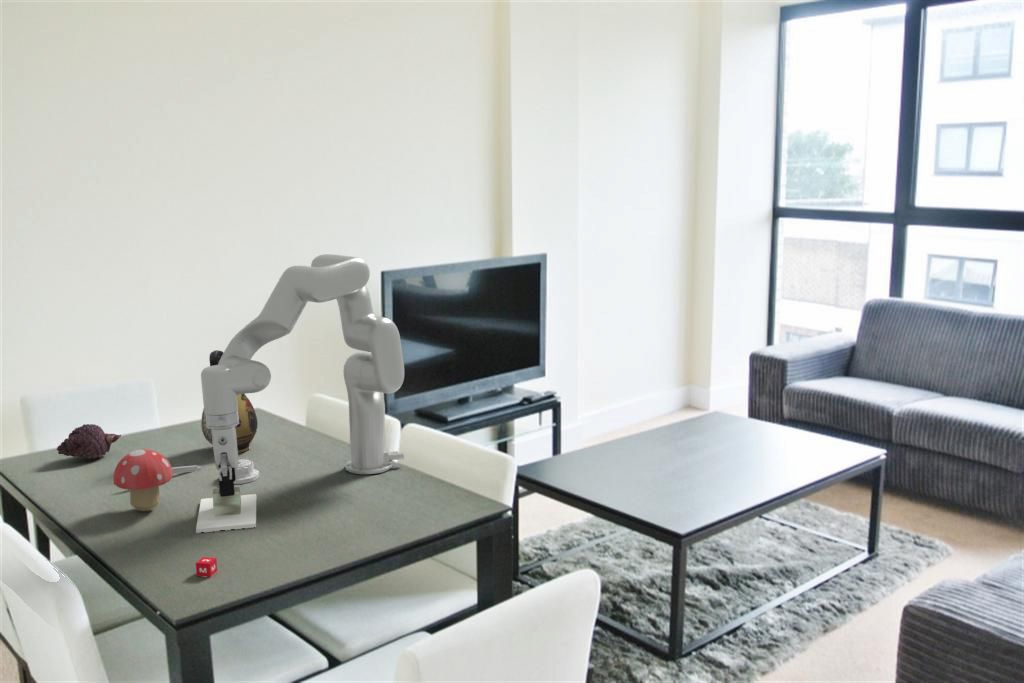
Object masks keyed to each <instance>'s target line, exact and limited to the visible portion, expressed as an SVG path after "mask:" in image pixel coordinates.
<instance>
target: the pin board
mask: <svg viewBox="0 0 1024 683" xmlns="http://www.w3.org/2000/svg"><path fill="white" fill-rule="evenodd" d="M197 515H198V516H197V520H196V521H197V522H196V526H195V534H202V533H201V532H204V533H212V532H213V531H214V532H221V531H220V530H225V531H232V530H231V529H235V530H243V529H242V528H245V529H251V528H252V529H253V528H254V527H255V528H257V494H256V493H253V494H243V495H242V494H241V514H233V515H223V516H214V510H213V497H207V498H201V499H200V504H199V509H198V514H197Z"/></svg>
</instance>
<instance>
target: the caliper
mask: <svg viewBox="0 0 1024 683" xmlns="http://www.w3.org/2000/svg"><path fill="white" fill-rule="evenodd" d="M202 469H203V468H202V466H201V467H200V466H199V465H187V466H176V467H172V471H173V475H174V474H183V473H184V474H185V473H193V472H197V471H199V470H202ZM196 470H197V471H196ZM192 471H193V472H192Z"/></svg>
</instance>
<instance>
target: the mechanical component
mask: <svg viewBox="0 0 1024 683" xmlns="http://www.w3.org/2000/svg"><path fill="white" fill-rule="evenodd" d="M254 467H255V464H254V462H253V460H249V459H245V458H244V459H239V460H238V467H237V468H236V469H235V477H236V480H235V481H234V485H242V484H247V483H251V482H254V481H257V479H259V478H260V471H259V470H257V469H256V468H254Z"/></svg>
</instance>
